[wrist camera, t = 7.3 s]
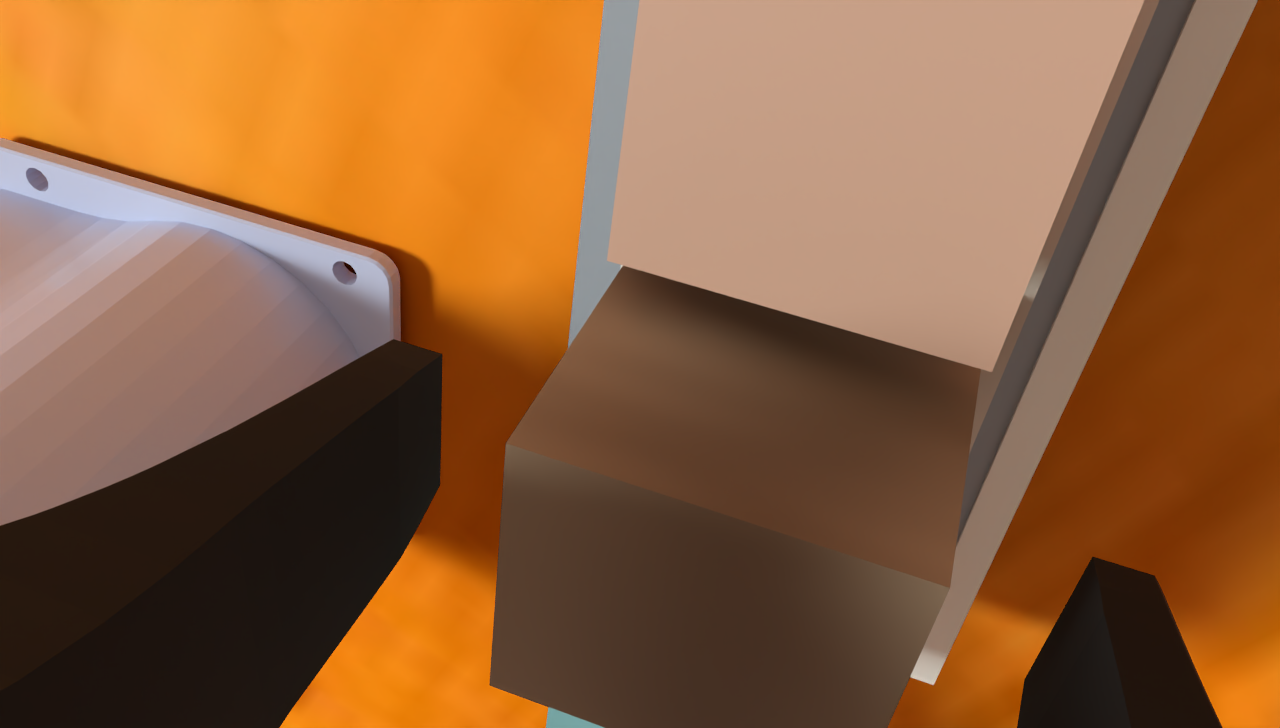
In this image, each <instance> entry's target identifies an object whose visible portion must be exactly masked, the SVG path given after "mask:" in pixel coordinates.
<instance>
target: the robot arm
mask: <svg viewBox="0 0 1280 728" xmlns="http://www.w3.org/2000/svg"><path fill="white" fill-rule="evenodd" d="M344 262H346V263H348V264H349V265H351V266H352V268H353V269H354V270H355V272H356V274H354V273H352V272H350V271H349V270H348V269H347V268H346V267H345V265H344ZM441 402H442V354H440V353H437V352H434V351H430V350H427V349H424V348H421V347H417V346H414V345H411V344H408V343H405V342H401V315H400V276H399V271H398V268H397V267H396V265H395V264H394V262H393V261H392V260H391V259H390V258H389V257H388V256H387V255H386V254H384V253H382V252H380V251H378V250H376V249H372V248H369V247H366V246H362V245H359V244H355V243H352V242H349V241H345V240H342V239H339V238H335V237H332V236H329V235H325V234H322V233H319V232H315V231H312V230H309V229H305V228H302V227H299V226H295V225H292V224H288V223H285V222H282V221H278V220H275V219H272V218H268V217H265V216H262V215H258V214H255V213H252V212H248V211H245V210H242V209H238V208H235V207H232V206H228V205H225V204H222V203H218V202H215V201H211V200H208V199H205V198H201V197H198V196H195V195H191V194H188V193H185V192H181V191H178V190H175V189H171V188H168V187H165V186H161V185H158V184H155V183H151V182H148V181H145V180H141V179H138V178H134V177H131V176H128V175H124V174H121V173H118V172H114V171H111V170H108V169H104V168H101V167H98V166H94V165H91V164H88V163H84V162H81V161H78V160H74V159H71V158H67V157H64V156H61V155H57V154H54V153H51V152H47V151H44V150H41V149H37V148H34V147H31V146H27V145H24V144H21V143H17V142H14V141H11V140H7V139H4V138H0V728H279V727H280V726H281V724H282V723H283V721H284V720H285V718H286V717H287V715H288V714H289V712H290V711H291V709H292V708H293V706H294V705H295V704H296V702H297V701H298V700H299V698H300V697H301V695H302V694H303V693H304V691H305V690H306V689H307V687H308V686H309V684H310V683H311V682H312V680H313V679H314V678H315V676H316V675H317V673H318V672H319V671H320V669H321V668H322V667H323V665H324V664H325V662H326V661H327V660H328V658H329V657H330V656H331V654H332V653H333V651H334V650H335V649H336V647H337V646H338V645H339V643H340V642H341V640H342V639H343V638H344V636H345V635H346V634H347V632H348V631H349V629H350V628H351V627H352V625H353V624H354V623H355V621H356V620H357V618H358V617H359V616H360V614H361V613H362V612H363V610H364V609H365V607H366V606H367V605H368V603H369V602H370V600H371V599H372V598H373V596H374V595H375V593H376V592H377V591H378V589H379V588H380V586H381V585H382V584H383V582H384V581H385V579H386V578H387V577H388V575H389V574H390V572H391V571H392V569H393V568H394V567H395V565H396V564H397V562H398V561H399V559H400V558H401V556H402V555H403V553H404V551H405V549H406V547H407V546H408V544H409V542H410V540H411V538H412V537H413V535H414V533H415V531H416V529H417V528H418V526H419V524H420V522H421V520H422V518H423V516H424V514H425V513H426V511H427V509H428V507H429V505H430V503H431V501H432V499H433V497H434V495H435V493H436V492H437V490H438V488H439V486H440V460H441ZM1017 728H1222V726H1221V724H1220V722H1219V719H1218V717H1217V715H1216V713H1215V711H1214V709H1213V706H1212V704H1211V702H1210V700H1209V698H1208V696H1207V693H1206V691H1205V689H1204V687H1203V684H1202V682H1201V680H1200V678H1199V675H1198V673H1197V671H1196V669H1195V666H1194V664H1193V662H1192V660H1191V657H1190V655H1189V653H1188V650H1187V648H1186V646H1185V643H1184V641H1183V639H1182V636H1181V634H1180V632H1179V629H1178V627H1177V625H1176V622H1175V620H1174V617H1173V615H1172V613H1171V610H1170V608H1169V606H1168V603H1167V601H1166V599H1165V596H1164V594H1163V592H1162V589H1161V587H1160V585H1159V583H1158V581H1157V580H1156V578H1155V576H1153V575H1150V574H1147V573H1144V572H1140V571H1137V570H1134V569H1131V568H1128V567H1124V566H1121V565H1118V564H1115V563H1112V562H1108V561H1105V560H1102V559H1099V558H1095V557H1092V559H1091V561H1090V562H1089V564H1088V566H1087V568H1086V570H1085V571H1084V573H1083V575H1082V577H1081V579H1080V581H1079V582H1078V584H1077V586H1076V588H1075V590H1074V591H1073V593H1072V595H1071V597H1070V599H1069V600H1068V602H1067V604H1066V606H1065V608H1064V609H1063V611H1062V613H1061V615H1060V617H1059V618H1058V620H1057V622H1056V624H1055V626H1054V628H1053V629H1052V631H1051V633H1050V635H1049V637H1048V638H1047V640H1046V642H1045V644H1044V646H1043V647H1042V649H1041V651H1040V653H1039V655H1038V656H1037V658H1036V660H1035V662H1034V664H1033V665H1032V667H1031V669H1030V671H1029V673H1028V675H1027V676H1026V678H1025V681H1024V687H1023V694H1022V700H1021V706H1020V713H1019V719H1018V726H1017Z"/></svg>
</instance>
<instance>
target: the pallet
mask: <svg viewBox="0 0 1280 728" xmlns="http://www.w3.org/2000/svg"><path fill="white" fill-rule="evenodd" d="M1158 3H1159V0H1144V2H1143V5H1142V7H1141V10H1140V12H1139V15H1138V17H1137V20H1136V22H1135V24H1134V27H1133V29H1132V32H1131V34H1130V37H1129V39H1128V41H1127V44H1126V46H1125V49H1124V51H1123V54H1122V56H1121V59H1120V61H1119V63H1118V66H1117V68H1116V71H1115V73H1114V76H1113V78H1112V80H1111V83H1110V85H1109V88H1108V90H1107V93H1106V95H1105V98H1104V100H1103V102H1102V105H1101V107H1100V110H1099V112H1098V115H1097V117H1096V120H1095V122H1094V124H1093V127H1092V129H1091V132H1090V134H1089V137H1088V139H1087V141H1086V144H1085V146H1084V149H1083V151H1082V154H1081V156H1080V159H1079V161H1078V163H1077V166H1076V168H1075V171H1074V173H1073V176H1072V178H1071V181H1070V183H1069V185H1068V188H1067V190H1066V193H1065V195H1064V198H1063V200H1062V202H1061V205H1060V207H1059V210H1058V212H1057V215H1056V217H1055V220H1054V222H1053V224H1052V227H1051V229H1050V232H1049V234H1048V237H1047V239H1046V241H1045V244H1044V246H1043V249H1042V251H1041V254H1040V256H1039V259H1038V261H1037V263H1036V266H1035V268H1034V271H1033V273H1032V276H1031V278H1030V281H1029V283H1028V285H1027V288H1026V290H1025V293H1024V295H1023V298H1022V300H1021V302H1020V305H1019V307H1018V310H1017V312H1016V315H1015V317H1014V320H1013V322H1012V324H1011V327H1010V329H1009V332H1008V334H1007V337H1006V339H1005V342H1004V344H1003V346H1002V349H1001V351H1000V354H999V356H998V359H997V361H996V363H995V366H994V368H993V371H992V372H989V371H986V370H982V369H979V368H975V367H972V366H969V365H965V364H962V363H958V362H955V361H951V360H948V359H944V358H941V357H937V356H934V355H931V354H927V353H924V352H920V351H917V350H913V349H910V348H906V347H903V346H899V345H896V344H893V343H889V342H886V341H882V340H879V339H875V338H872V337H868V336H865V335H861V334H858V333H855V332H851V331H848V330H844V329H841V328H837V327H834V326H830V325H827V324H823V323H820V322H817V321H813V320H810V319H806V318H803V317H799V316H796V315H792V314H789V313H785V312H782V311H779V310H775V309H772V308H768V307H765V306H761V305H758V304H754V303H751V302H747V301H744V300H741V299H737V298H734V297H730V296H727V295H723V294H720V293H716V292H713V291H709V290H706V289H703V288H699V287H696V286H692V285H689V284H685V283H682V282H678V281H675V280H671V279H668V278H665V277H661V276H658V275H654V274H651V273H647V272H644V271H640V270H637V269H633V268H630V267H627V266H623V265H621V267H620V271H619V272H618V274H617V275H616V277H615V278H614V280H613V281H612V283H611V284H610V286H609V287H608V289H607V290H606V292H605V293H604V295H603V296H602V298H601V299H600V301H599V302H598V304H597V306H596V307H595V309H594V310H593V312H592V313H591V315H590V316H589V318H588V319H587V321H586V322H585V324H584V325H583V327H582V328H581V330H580V331H579V333H578V334H577V336H576V337H575V339H574V340H573V342H572V343H571V345H570V347H569V348H568V350H567V351H566V353H565V354H564V356H563V357H562V359H561V360H560V362H559V363H558V365H557V366H556V368H555V369H554V371H553V372H552V374H551V375H550V377H549V378H548V380H547V381H546V383H545V385H544V386H543V388H542V389H541V391H540V392H539V394H538V395H537V397H536V398H535V400H534V401H533V403H532V404H531V406H530V407H529V409H528V410H527V412H526V413H525V415H524V416H523V418H522V419H521V421H520V422H519V424H518V426H517V427H516V429H515V430H514V432H513V433H512V435H511V436H510V438H509V439H508V441H507V442H506V448H505V463H504V478H503V493H502V508H501V523H500V538H499V553H498V568H497V582H496V597H495V612H494V627H493V642H492V657H491V672H490V686H493V687H496V688H498V689H501V690H504V691H506V692H509V693H512V694H515V695H517V696H520V697H523V698H525V699H528V700H531V701H534V702H536V703H539V704H542V705H544V706H547V707H550V708H553V709H555V710H558V711H561V712H564V713H566V714H569V715H572V716H574V717H577V718H580V719H583V720H585V721H588V722H591V723H593V724H596V725H599V726H602V727H604V728H887V727H888V725H889V723H890V720H891V718H892V716H893V714H894V712H895V709H896V707H897V705H898V703H899V700H900V698H901V696H902V694H903V692H904V689H905V687H906V685H907V683H908V680H909V678H910V676H911V674H912V672H913V669H914V667H915V665H916V663H917V660H918V658H919V656H920V654H921V652H922V649H923V647H924V645H925V643H926V640H927V638H928V636H929V634H930V632H931V629H932V627H933V625H934V623H935V621H936V618H937V616H938V614H939V612H940V609H941V607H942V605H943V603H944V601H945V598H946V596H947V594H948V592H949V589H950V585H951V578H952V571H953V564H954V557H955V550H956V543H957V536H958V529H959V522H960V515H961V507H962V500H963V493H964V486H965V479H966V472H967V465H968V458H969V454H970V451H971V449H972V446H973V444H974V442H975V439H976V437H977V434H978V432H979V430H980V427H981V425H982V423H983V420H984V418H985V415H986V413H987V411H988V408H989V406H990V403H991V401H992V399H993V396H994V394H995V392H996V389H997V387H998V384H999V382H1000V380H1001V377H1002V375H1003V372H1004V370H1005V368H1006V365H1007V363H1008V361H1009V358H1010V356H1011V353H1012V351H1013V349H1014V346H1015V344H1016V341H1017V339H1018V337H1019V334H1020V332H1021V330H1022V327H1023V325H1024V322H1025V320H1026V318H1027V315H1028V313H1029V310H1030V308H1031V306H1032V303H1033V301H1034V299H1035V296H1036V294H1037V291H1038V289H1039V287H1040V284H1041V282H1042V279H1043V277H1044V275H1045V272H1046V270H1047V268H1048V265H1049V263H1050V260H1051V258H1052V256H1053V253H1054V251H1055V248H1056V246H1057V244H1058V241H1059V239H1060V237H1061V234H1062V232H1063V229H1064V227H1065V225H1066V222H1067V220H1068V217H1069V215H1070V213H1071V210H1072V208H1073V206H1074V203H1075V201H1076V198H1077V196H1078V194H1079V191H1080V189H1081V186H1082V184H1083V182H1084V179H1085V177H1086V174H1087V172H1088V170H1089V167H1090V165H1091V163H1092V160H1093V158H1094V155H1095V153H1096V151H1097V148H1098V146H1099V143H1100V141H1101V139H1102V136H1103V134H1104V132H1105V129H1106V127H1107V124H1108V122H1109V120H1110V117H1111V115H1112V112H1113V110H1114V108H1115V105H1116V103H1117V101H1118V98H1119V96H1120V93H1121V91H1122V89H1123V86H1124V84H1125V81H1126V79H1127V77H1128V74H1129V72H1130V70H1131V67H1132V65H1133V62H1134V60H1135V58H1136V55H1137V53H1138V50H1139V48H1140V46H1141V43H1142V41H1143V39H1144V36H1145V34H1146V31H1147V29H1148V27H1149V24H1150V22H1151V19H1152V17H1153V15H1154V12H1155V10H1156V8H1157V5H1158Z"/></svg>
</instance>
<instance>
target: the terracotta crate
mask: <svg viewBox="0 0 1280 728" xmlns="http://www.w3.org/2000/svg"><path fill="white" fill-rule="evenodd" d="M1143 2H1144V0H639V8H638V16H637V24H636V32H635V40H634V48H633V56H632V64H631V72H630V80H629V88H628V96H627V104H626V112H625V120H624V128H623V136H622V144H621V152H620V160H619V168H618V176H617V184H616V192H615V200H614V208H613V216H612V224H611V232H610V240H609V248H608V256H607V261H609V262H613V263H616V264H620V265H623V266H627V267H630V268H633V269H637V270H640V271H644V272H647V273H651V274H654V275H658V276H661V277H665V278H668V279H671V280H675V281H678V282H682V283H685V284H689V285H692V286H696V287H699V288H703V289H706V290H709V291H713V292H716V293H720V294H723V295H727V296H730V297H734V298H737V299H741V300H744V301H747V302H751V303H754V304H758V305H761V306H765V307H768V308H772V309H775V310H779V311H782V312H785V313H789V314H792V315H796V316H799V317H803V318H806V319H810V320H813V321H817V322H820V323H823V324H827V325H830V326H834V327H837V328H841V329H844V330H848V331H851V332H855V333H858V334H861V335H865V336H868V337H872V338H875V339H879V340H882V341H886V342H889V343H893V344H896V345H899V346H903V347H906V348H910V349H913V350H917V351H920V352H924V353H927V354H931V355H934V356H937V357H941V358H944V359H948V360H951V361H955V362H958V363H962V364H965V365H969V366H972V367H975V368H979V369H982V370H986V371H989V372H992V371H993V368H994V366H995V363H996V361H997V359H998V356H999V354H1000V351H1001V349H1002V346H1003V344H1004V342H1005V339H1006V337H1007V334H1008V332H1009V329H1010V327H1011V324H1012V322H1013V320H1014V317H1015V315H1016V312H1017V310H1018V307H1019V305H1020V302H1021V300H1022V298H1023V295H1024V293H1025V290H1026V288H1027V285H1028V283H1029V281H1030V278H1031V276H1032V273H1033V271H1034V268H1035V266H1036V263H1037V261H1038V259H1039V256H1040V254H1041V251H1042V249H1043V246H1044V244H1045V241H1046V239H1047V237H1048V234H1049V232H1050V229H1051V227H1052V224H1053V222H1054V220H1055V217H1056V215H1057V212H1058V210H1059V207H1060V205H1061V202H1062V200H1063V198H1064V195H1065V193H1066V190H1067V188H1068V185H1069V183H1070V181H1071V178H1072V176H1073V173H1074V171H1075V168H1076V166H1077V163H1078V161H1079V159H1080V156H1081V154H1082V151H1083V149H1084V146H1085V144H1086V141H1087V139H1088V137H1089V134H1090V132H1091V129H1092V127H1093V124H1094V122H1095V120H1096V117H1097V115H1098V112H1099V110H1100V107H1101V105H1102V102H1103V100H1104V98H1105V95H1106V93H1107V90H1108V88H1109V85H1110V83H1111V80H1112V78H1113V76H1114V73H1115V71H1116V68H1117V66H1118V63H1119V61H1120V59H1121V56H1122V54H1123V51H1124V49H1125V46H1126V44H1127V41H1128V39H1129V37H1130V34H1131V32H1132V29H1133V27H1134V24H1135V22H1136V20H1137V17H1138V15H1139V12H1140V10H1141V7H1142V5H1143Z"/></svg>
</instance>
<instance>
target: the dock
mask: <svg viewBox="0 0 1280 728" xmlns="http://www.w3.org/2000/svg"><path fill="white" fill-rule="evenodd" d="M1257 1H1258V0H1159V3H1158V5H1157V8H1156V10H1155V12H1154V15H1153V17H1152V19H1151V22H1150V24H1149V27H1148V29H1147V31H1146V34H1145V36H1144V39H1143V41H1142V43H1141V46H1140V48H1139V50H1138V53H1137V55H1136V58H1135V60H1134V62H1133V65H1132V67H1131V70H1130V72H1129V74H1128V77H1127V79H1126V81H1125V84H1124V86H1123V89H1122V91H1121V93H1120V96H1119V98H1118V101H1117V103H1116V105H1115V108H1114V110H1113V112H1112V115H1111V117H1110V120H1109V122H1108V124H1107V127H1106V129H1105V132H1104V134H1103V136H1102V139H1101V141H1100V143H1099V146H1098V148H1097V151H1096V153H1095V155H1094V158H1093V160H1092V163H1091V165H1090V167H1089V170H1088V172H1087V174H1086V177H1085V179H1084V182H1083V184H1082V186H1081V189H1080V191H1079V194H1078V196H1077V198H1076V201H1075V203H1074V206H1073V208H1072V210H1071V213H1070V215H1069V217H1068V220H1067V222H1066V225H1065V227H1064V229H1063V232H1062V234H1061V237H1060V239H1059V241H1058V244H1057V246H1056V248H1055V251H1054V253H1053V256H1052V258H1051V260H1050V263H1049V265H1048V268H1047V270H1046V272H1045V275H1044V277H1043V279H1042V282H1041V284H1040V287H1039V289H1038V291H1037V294H1036V296H1035V299H1034V301H1033V303H1032V306H1031V308H1030V310H1029V313H1028V315H1027V318H1026V320H1025V322H1024V325H1023V327H1022V330H1021V332H1020V334H1019V337H1018V339H1017V341H1016V344H1015V346H1014V349H1013V351H1012V353H1011V356H1010V358H1009V361H1008V363H1007V365H1006V368H1005V370H1004V372H1003V375H1002V377H1001V380H1000V382H999V384H998V387H997V389H996V392H995V394H994V396H993V399H992V401H991V403H990V406H989V408H988V411H987V413H986V415H985V418H984V420H983V423H982V425H981V427H980V430H979V432H978V434H977V437H976V439H975V442H974V444H973V446H972V449H971V451H970V454H969V458H968V465H967V472H966V479H965V486H964V493H963V500H962V507H961V515H960V522H959V529H958V536H957V543H956V550H955V557H954V564H953V571H952V578H951V585H950V589H949V592H948V594H947V596H946V598H945V601H944V603H943V605H942V607H941V609H940V612H939V614H938V616H937V618H936V621H935V623H934V625H933V627H932V629H931V632H930V634H929V636H928V638H927V640H926V643H925V645H924V647H923V649H922V652H921V654H920V656H919V658H918V660H917V663H916V665H915V667H914V669H913V672H912V674H911V676H910V677H911V678H914V679H917V680H920V681H923V682H926V683H929V684H932V685H934V683H935V681H936V679H937V677H938V675H939V673H940V671H941V669H942V667H943V664H944V662H945V660H946V658H947V656H948V654H949V652H950V650H951V648H952V645H953V643H954V641H955V639H956V637H957V635H958V633H959V631H960V629H961V626H962V624H963V622H964V620H965V618H966V616H967V614H968V612H969V610H970V607H971V605H972V603H973V601H974V599H975V597H976V595H977V593H978V590H979V588H980V586H981V584H982V582H983V580H984V578H985V576H986V574H987V571H988V569H989V567H990V565H991V563H992V561H993V559H994V557H995V555H996V552H997V550H998V548H999V546H1000V544H1001V542H1002V540H1003V538H1004V536H1005V533H1006V531H1007V529H1008V527H1009V525H1010V523H1011V521H1012V519H1013V517H1014V514H1015V512H1016V510H1017V508H1018V506H1019V504H1020V502H1021V500H1022V498H1023V495H1024V493H1025V491H1026V489H1027V487H1028V485H1029V483H1030V481H1031V479H1032V476H1033V474H1034V472H1035V470H1036V468H1037V466H1038V464H1039V462H1040V460H1041V457H1042V455H1043V453H1044V451H1045V449H1046V447H1047V445H1048V443H1049V441H1050V438H1051V436H1052V434H1053V432H1054V430H1055V428H1056V426H1057V424H1058V422H1059V419H1060V417H1061V415H1062V413H1063V411H1064V409H1065V407H1066V405H1067V403H1068V400H1069V398H1070V396H1071V394H1072V392H1073V390H1074V388H1075V386H1076V383H1077V381H1078V379H1079V377H1080V375H1081V373H1082V371H1083V369H1084V367H1085V364H1086V362H1087V360H1088V358H1089V356H1090V354H1091V352H1092V350H1093V348H1094V345H1095V343H1096V341H1097V339H1098V337H1099V335H1100V333H1101V331H1102V329H1103V326H1104V324H1105V322H1106V320H1107V318H1108V316H1109V314H1110V312H1111V310H1112V307H1113V305H1114V303H1115V301H1116V299H1117V297H1118V295H1119V293H1120V291H1121V288H1122V286H1123V284H1124V282H1125V280H1126V278H1127V276H1128V274H1129V272H1130V269H1131V267H1132V265H1133V263H1134V261H1135V259H1136V257H1137V255H1138V253H1139V250H1140V248H1141V246H1142V244H1143V242H1144V240H1145V238H1146V236H1147V234H1148V231H1149V229H1150V227H1151V225H1152V223H1153V221H1154V219H1155V217H1156V215H1157V212H1158V210H1159V208H1160V206H1161V204H1162V202H1163V200H1164V198H1165V196H1166V193H1167V191H1168V189H1169V187H1170V185H1171V183H1172V181H1173V179H1174V176H1175V174H1176V172H1177V170H1178V168H1179V166H1180V164H1181V162H1182V160H1183V157H1184V155H1185V153H1186V151H1187V149H1188V147H1189V145H1190V143H1191V141H1192V138H1193V136H1194V134H1195V132H1196V130H1197V128H1198V126H1199V124H1200V122H1201V119H1202V117H1203V115H1204V113H1205V111H1206V109H1207V107H1208V105H1209V103H1210V100H1211V98H1212V96H1213V94H1214V92H1215V90H1216V88H1217V86H1218V84H1219V81H1220V79H1221V77H1222V75H1223V73H1224V71H1225V69H1226V67H1227V65H1228V62H1229V60H1230V58H1231V56H1232V54H1233V52H1234V50H1235V48H1236V46H1237V43H1238V41H1239V39H1240V37H1241V35H1242V33H1243V31H1244V29H1245V27H1246V24H1247V22H1248V20H1249V18H1250V16H1251V14H1252V12H1253V10H1254V8H1255V5H1256V3H1257ZM638 8H639V0H604V8H603V17H602V27H601V36H600V46H599V55H598V65H597V74H596V84H595V94H594V103H593V113H592V122H591V132H590V141H589V151H588V160H587V170H586V180H585V189H584V199H583V208H582V218H581V227H580V237H579V246H578V256H577V266H576V275H575V285H574V294H573V304H572V313H571V323H570V332H569V342H568V348H569V347H570V345H571V343H572V342H573V340H574V339H575V337H576V336H577V334H578V333H579V331H580V330H581V328H582V327H583V325H584V324H585V322H586V321H587V319H588V318H589V316H590V315H591V313H592V312H593V310H594V309H595V307H596V306H597V304H598V302H599V301H600V299H601V298H602V296H603V295H604V293H605V292H606V290H607V289H608V287H609V286H610V284H611V283H612V281H613V280H614V278H615V277H616V275H617V274H618V272H619V271H620V267H621V265H620V264H616V263H613V262H609V261H607V256H608V248H609V240H610V232H611V224H612V216H613V208H614V200H615V192H616V184H617V176H618V168H619V160H620V152H621V144H622V136H623V128H624V120H625V112H626V104H627V96H628V88H629V80H630V72H631V64H632V56H633V48H634V40H635V32H636V24H637V16H638Z"/></svg>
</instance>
